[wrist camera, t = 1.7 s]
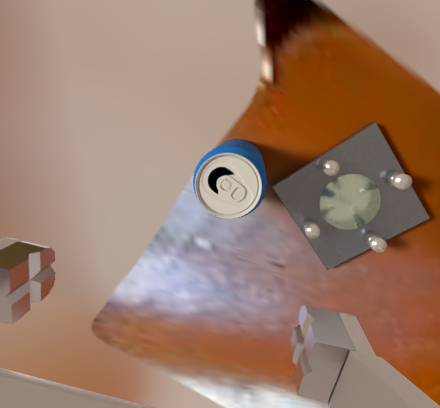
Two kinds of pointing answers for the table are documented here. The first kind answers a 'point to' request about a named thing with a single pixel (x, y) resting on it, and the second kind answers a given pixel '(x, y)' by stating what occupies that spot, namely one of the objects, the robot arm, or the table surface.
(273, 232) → the table surface
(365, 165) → the plate
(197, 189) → the beverage can
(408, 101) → the table surface
